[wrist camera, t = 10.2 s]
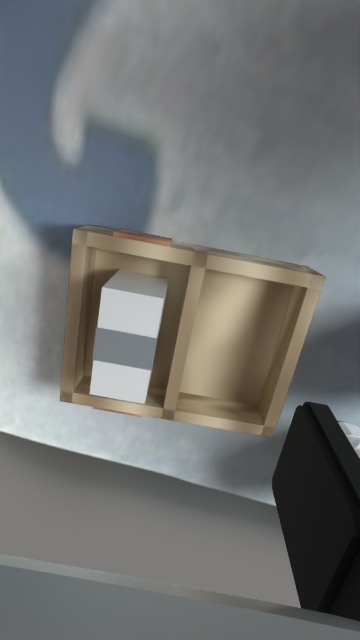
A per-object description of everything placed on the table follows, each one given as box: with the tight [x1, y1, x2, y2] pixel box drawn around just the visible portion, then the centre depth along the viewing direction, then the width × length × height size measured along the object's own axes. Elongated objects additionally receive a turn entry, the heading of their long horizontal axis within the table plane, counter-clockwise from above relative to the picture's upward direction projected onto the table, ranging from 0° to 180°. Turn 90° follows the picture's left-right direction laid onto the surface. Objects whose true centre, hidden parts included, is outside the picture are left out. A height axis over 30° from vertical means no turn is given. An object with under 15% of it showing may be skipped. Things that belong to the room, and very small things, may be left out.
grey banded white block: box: [90, 269, 169, 404], centre depth 26 cm, size 4×8×6 cm, turn 169°
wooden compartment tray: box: [60, 225, 325, 438], centre depth 28 cm, size 18×15×4 cm
